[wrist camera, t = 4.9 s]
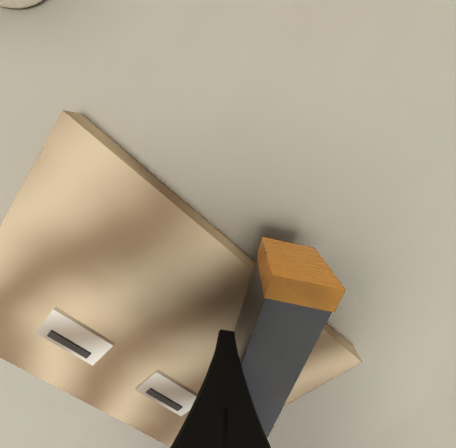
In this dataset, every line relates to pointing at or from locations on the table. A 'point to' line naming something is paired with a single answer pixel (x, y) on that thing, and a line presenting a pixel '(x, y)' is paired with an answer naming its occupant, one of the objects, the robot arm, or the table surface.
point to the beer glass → (18, 3)
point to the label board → (123, 285)
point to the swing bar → (282, 321)
